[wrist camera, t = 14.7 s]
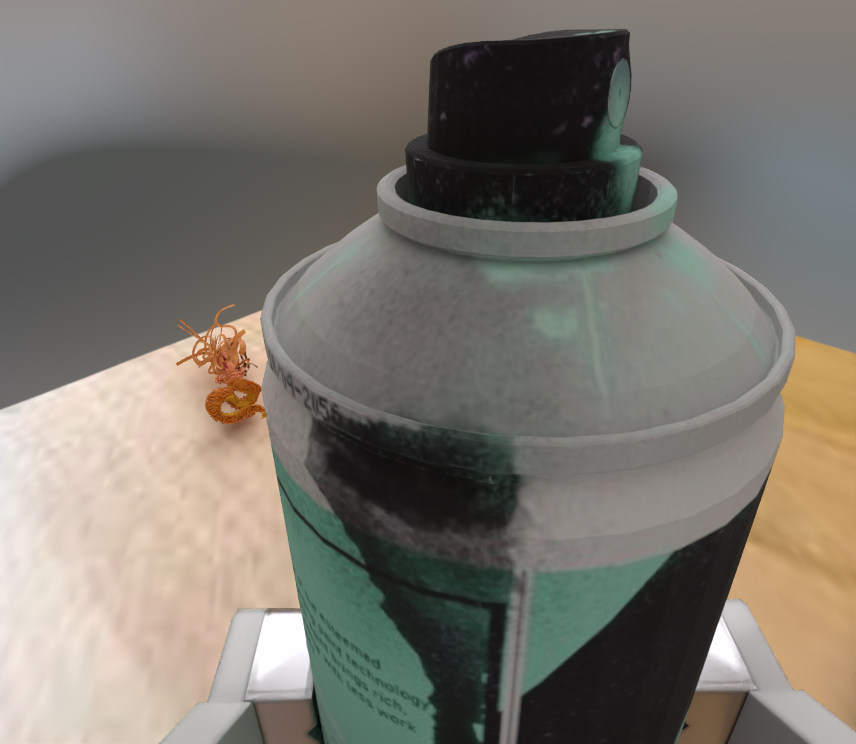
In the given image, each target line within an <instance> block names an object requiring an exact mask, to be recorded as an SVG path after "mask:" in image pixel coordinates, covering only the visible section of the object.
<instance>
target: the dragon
mask: <svg viewBox="0 0 856 744" xmlns="http://www.w3.org/2000/svg"><path fill="white" fill-rule="evenodd" d="M231 306H235V305H231ZM231 306H227V307H225V308H223V309H221V310H220V311H219V312H218V313H217V315H216V317H215V323H214V325H213V326H212V327H211V328H210V329H209V331H208V332H207V334H206V336H203V337H200V336H198V335H197V334H196V333H195V332H194V331H193V330H192V329H191V328H190V327H189V326H188V325H187V324H186V323H184V322H183V321H182V320H181V319H180V321H181V322H182V323H183V324H185V325H186V326H187V327H188V328H189V329H190V330H191V331H192V332H193V333H194V334H195V335H196V336H195V335H193V334H192V333H190V332H188V331H187V330H185V329H184V328H182V327H180V326H179V325H178V326H179V327H180V328H182V329H184V330H185V331H187V332H188V333H190V334H191V335H193V336H195V337H196V338H198V339H199V340H198V341H197V342H196V344H195V345H194V348H193V351H192V355H191V356H189V357H186V358H185V359H183V360H181V361H179V362H177V363H176V364H177V366H178V365H180V364H181V363H183V362H185V361H187V360H189V359H191V358H193V360H194V361H195V363H196V364H197V365H199V366H198V367H201V366H202V365H204V364H205V363H207V362H211V365H210V367H209V370H208V373H209V374H215V375H219V376H217V377H216V379H215V382H216V383H219V384H221V383H225V384H227V387H225V388H224V389H223V388H218V389H215V390H213V391H212V392H211V393H210V394H209V395H208V396H207V398H206V403H205V407H206V410H207V412H208V413H209V415H211V417H213V419H215V420H216V421H220V422H221V423H222V424H223V423H224V424H225V423H227V424H233V423H237V422H240V421H241V420H242V421H243V420H244V418H246V419H247V418H248V417H249V418H250V415H251V417H252V416H253V415H255V412H261V413H262V418H261V419H263V418H265V417H266V412H265V409H264V407H263V406H261V405H257V404H255V402H256V401H257V399H258V396H259V394H260V392H261V387H260V385H258V384H256V383H254V382H253V381H249V380H247V379H243V378H242V377H243V375H245V376H246V372H247V370H245V368H246V367H247V368H248V369H249V365H250V364H252V363H249V358H247V356H246V345H245V342H244V341H243V340H242V339H240V338H241V337H242V335H243V334H245V330H244V329H243V330H242V331H240V332H239V333H238V334H237V330H236V328H235V327H233V326H230V325H219V324H218V322H217V317H218V315H219V313H220V312H221V311H222V310H224V309H226V308H229V307H231ZM215 325H217V326H219V327H221V332H222V327H231V328H233V329H234V331H235V336H234V337H233V338H226V337H225V335H221V334H220V335H219V336H220V339H219V341H221V336H223V338H224V341H223V342H225V344H224V345H223V346H222V347H221V344H222V343H223V342H221V343H220V345H219V347H218V348H217V350H216V344H217V339H216V336H215V346H214V340H213V338H212V337H211V335H212V332H213V329H214V326H215ZM211 329H212V331H211ZM210 331H211V335H210V336H208V334H209V332H210ZM219 336H218V337H219ZM204 337H205V341H204V340H203V338H204ZM207 337H209V338H210V344H211V345H210V344H208V343H207V342H206V340H207ZM218 337H217V338H218ZM226 339H230V340H228V341H227V340H226ZM200 340H201V341H200ZM211 341H212V343H211ZM199 342H202V343H204V348H203V349H200V350H199V351H198V352H197V353H196V354H194V351H195V348H196V346H197V344H198V343H199ZM218 344H219V343H218ZM239 344H240V346H239V347H240V350H239V354H240V355H241V359H242V362H241V363H239V356H238V352H237V349H238V345H239ZM206 345H207V346H208V347H209V348H206ZM203 351H205V352H203ZM207 351H210V352H207ZM212 351H214V353H213V352H212ZM202 354H203V356H202V358H203V359H204V360H203V361H199V360H198V359H197V356H199V355H202ZM206 354H207V355H209V356H208V357H207V358H204V356H205V355H206ZM242 355H244V356H245V358H246V359H245V360H244V359H243V358H242ZM211 356H212V357H211ZM195 357H196V359H195ZM207 359H208V360H207ZM247 360H248V361H247ZM245 361H247V364H246V363H245ZM243 363H244V364H243ZM241 364H243V366H242V367H241V368H240V367H239V366H240V365H241ZM253 365H254V364H253ZM215 366H216V369H217V370H216V369H215ZM254 366H256V365H254ZM256 367H257V366H256ZM211 368H212V369H213V372H210V370H211ZM257 368H258V367H257ZM236 369H238V370H236ZM216 380H217V381H218V382H217V381H216ZM219 380H220V382H219ZM234 390H235V391H240V392H243V393H245V394H246V393H247V395H246V396H243V398H238V397H237V396H236V395H235V394H234ZM209 397H210V399H209ZM207 400H208V402H207ZM225 401H226V402H227V403H228V404H229V405H230V406H231V407H232V408H234V407H235V410H238V409H239V410H238V411H237V412H234V413H230V414H229V413H223V412H221V405H222V403H224V402H225ZM236 418H237V421H236ZM233 421H235V422H233Z"/></svg>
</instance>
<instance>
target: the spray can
mask: <svg viewBox="0 0 856 744" xmlns="http://www.w3.org/2000/svg"><path fill="white" fill-rule="evenodd" d="M629 37H630V32H629V31H628V30H627V29H606V30H605V29H601V30H561V31H550V32H544V33H539V34H533V35H528V36H525V37H521V38H517V39H513V40H504V41H480V42H472V43H463V44H458V45H454V46H449V47H447V48H444V49H442V50H439V51H438V52H437V53H435V54H434V56H433V57H432V59H431V61H430V83H429V108H428V133H427V134H425V135H423V136H420V137H417V138H416V139H414V140H412V141H410V142H409V143H408V145H407V147H406V148H405V152H406V165H404V166H402V167H400V168H398V169H395V170H393V171H392V172H391V173H389V174H388V175H387V176H385V177H384V178H382V179H381V181H380V182H379V184H378V186H377V198H378V211H379V214H377V215H375V216H374V217H372V218H371V219H369V220H368V221H366V222H365V223H363V224H362V225H360V226H359V227H357V228H356V229H355V230H353V231H352V232H350V233H349V234H348V235H347V236H346V237H345V238H343V239H342V240H341V241H340V242H338V243H335V244H332V245H330V246H328V247H325V248H323V249H321V250H320V251H318V252H316V253H314V254H312V255H310V256H309V257H307V258H305V259H303V260H301V261H300V262H299V263H298V264H296V265H295V266H294V267H293V268H291V269H290V270H289V271H288V272H286V273H285V274H284V275H283V276H281V278H280V279H279V280H278V281H277V283H276V284H275V285H274V287H273V288H272V290H271V291H270V292H269V294H268V295H267V296H266V299H265V303H264V307H263V310H262V314H261V318H260V320H261V325H262V331H263V337H264V343H265V348H266V353H267V358H268V361H267V364H266V369H265V373H264V378H263V383H262V387H261V388H262V394H263V400H264V406H265V412H266V418H267V424H268V429H269V435H270V440H271V446H272V452H273V457H274V463H275V468H276V474H277V480H278V485H279V491H280V496H281V502H282V508H283V513H284V519H285V524H286V530H287V536H288V541H289V547H290V552H291V558H292V564H293V569H294V575H295V580H296V586H297V592H298V597H299V603H300V608H301V614H302V620H303V625H304V631H305V636H306V642H307V648H308V653H309V659H310V664H311V670H312V676H313V681H314V687H315V692H316V698H317V704H318V709H319V715H320V720H321V726H322V732H323V737H324V743H325V744H677V743H678V740H679V737H680V734H681V731H682V728H683V725H684V722H685V719H686V717H687V714H688V711H689V708H690V705H691V702H692V699H693V696H694V693H695V690H696V687H697V684H698V682H699V679H700V676H701V673H702V670H703V667H704V664H705V661H706V658H707V655H708V652H709V649H710V647H711V644H712V641H713V638H714V635H715V632H716V629H717V626H718V623H719V620H720V617H721V614H722V612H723V609H724V606H725V603H726V600H727V597H728V594H729V591H730V588H731V585H732V582H733V579H734V577H735V574H736V571H737V568H738V565H739V562H740V559H741V556H742V553H743V550H744V547H745V544H746V542H747V539H748V536H749V533H750V530H751V527H752V524H753V521H754V518H755V515H756V512H757V509H758V506H759V504H760V501H761V498H762V495H763V492H764V489H765V486H766V483H767V480H768V477H769V474H770V471H771V469H772V466H773V463H774V460H775V457H776V454H777V451H778V448H779V445H780V442H781V439H782V436H783V423H784V407H785V406H784V403H783V400H782V397H781V394H780V392H781V390H782V389H783V387H784V385H785V384H786V382H787V379H788V376H789V373H790V370H791V366H792V363H793V360H794V356H795V336H796V332H795V330H794V328H793V325H792V323H791V321H790V319H789V316H788V314H787V312H786V310H785V308H784V307H783V306H782V305H781V304H780V302H778V300H777V299H776V298H775V297H774V296H773V295H772V294H771V293H770V292H769V291H768V289H767V288H766V287H765V286H763V285H762V284H760V283H759V282H758V281H756V280H755V279H753V278H752V277H750V276H749V275H748V274H746V273H745V272H744V271H742V270H740V269H739V268H737V267H735V266H733V265H731V264H729V263H727V262H725V261H724V260H722V259H719V258H718V257H716V256H714V255H713V254H712V253H711V252H710V251H709V250H708V249H706V248H705V247H704V246H703V245H701V244H700V243H699V242H697V241H696V240H695V239H694V238H692V237H691V236H690V235H688V234H687V233H686V232H684V231H683V230H682V229H680V228H679V227H678V226H676V225H675V224H673V223H672V221H673V219H674V214H675V209H676V203H677V198H678V197H677V191H676V189H675V188H674V187H673V186H672V185H671V183H670V182H669V181H668V180H666V179H665V178H663V177H661V176H660V175H658V174H656V173H655V172H653V171H651V170H648V169H645V168H643V167H640V164H641V158H642V148H641V146H640V145H639V144H638V143H637V142H636V141H635V140H633V139H631V138H629V137H627V136H625V135H622V134H621V130H622V126H623V123H624V118H625V115H626V111H627V108H628V104H629V97H630V91H631V66H630V53H629Z"/></svg>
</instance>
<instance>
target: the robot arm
mask: <svg viewBox="0 0 856 744" xmlns="http://www.w3.org/2000/svg"><path fill="white" fill-rule="evenodd" d="M159 744H325V743H324V737H323V732H322V726H321V720H320V715H319V709H318V704H317V698H316V692H315V687H314V681H313V676H312V670H311V664H310V659H309V653H308V648H307V642H306V636H305V631H304V625H303V620H302V614H301V609H299V608H249V609H238V610H237V612H236V613H235V615H234V616H233V618H232V621H231V625H230V628H229V631H228V635H227V638H226V641H225V645H224V648H223V651H222V655H221V658H220V661H219V665H218V668H217V672H216V675H215V678H214V682H213V685H212V688H211V692H210V695H209V698H208V702H203V703H197V704H196V706H195V707H194V708H193V709H192V710H191V711H190V712H189V713H188V714H187V715H186V716H185V717H184V718H183V719H182V720H181V721H180V722H179V723H178V724H177V725H176V726H175V727H174V728H173V729H172V730H171V731H170V732H169V733H168V735H167V736H166V737H165V738H164V739H163V740H162V741H161V742H160V743H159ZM677 744H856V732H855V731H854V730H853V729H852V728H850V727H849V726H848V725H847V724H845V723H844V722H843V721H841V720H840V719H839V718H838V717H836V716H835V715H834V714H833V713H831V712H830V711H829V710H828V709H826V708H825V707H824V706H822V705H821V704H820V703H819V702H817V701H816V700H815V699H814V698H812V697H811V696H810V695H809V694H807V693H806V692H805V691H803V690H793V688H792V686H791V684H790V682H789V681H788V679H787V677H786V675H785V673H784V671H783V670H782V668H781V666H780V664H779V662H778V660H777V659H776V657H775V655H774V653H773V651H772V649H771V648H770V646H769V644H768V642H767V640H766V638H765V637H764V635H763V633H762V631H761V629H760V627H759V626H758V624H757V622H756V620H755V618H754V616H753V615H752V613H751V611H750V609H749V607H748V605H747V604H746V603H745V602H744V601H743V600H741V599H727V600H726V603H725V606H724V609H723V612H722V614H721V617H720V620H719V623H718V626H717V629H716V632H715V635H714V638H713V641H712V644H711V647H710V649H709V652H708V655H707V658H706V661H705V664H704V667H703V670H702V673H701V676H700V679H699V682H698V684H697V687H696V690H695V693H694V696H693V699H692V702H691V705H690V708H689V711H688V714H687V717H686V719H685V722H684V725H683V728H682V731H681V734H680V737H679V740H678V743H677Z"/></svg>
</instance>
